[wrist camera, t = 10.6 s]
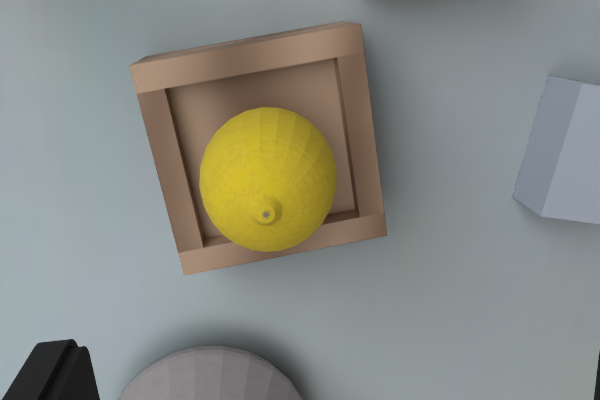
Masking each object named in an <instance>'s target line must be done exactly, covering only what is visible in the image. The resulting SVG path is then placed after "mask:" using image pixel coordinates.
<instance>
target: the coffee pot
mask: <svg viewBox="0 0 600 400" xmlns="http://www.w3.org/2000/svg"><path fill="white" fill-rule="evenodd" d="M118 400H303V399H302V398H301V396H300V395H299V393H298V391H297V390H296V388H295V387H294V385H293V384H292V382H291V381H290V379H288V378H287V377H286V376H285V375H284V374H283V373H281V372H280V371H279V370H278V369H277V368H276V367H274V366H273V365H272V364H271V363H270V362H269V361H267V360H265V359H263V358H261V357H259V356H257V355H255V354H253V353H251V352H249V351H247V350H242V349H237V348H232V347H228V346H223V345H222V346H196V347H192V348H188V349H184V350H180V351H176V352H173V353H171V354H169V355H167V356H165V357H163V358H161V359H159V360H157V361H156V362H154V363H152V364H150V365H149V366H148V367H146V368H145V369H144V370H143V371H142V372H140V373H139V374H138V375H137V376H136V377H135V378H134V379H133V380H132V381H130V382H129V383H128V384H127V386H126V387H125V389H124V390H123V392H122V393H121V395H120V397H119V398H118Z"/></svg>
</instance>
